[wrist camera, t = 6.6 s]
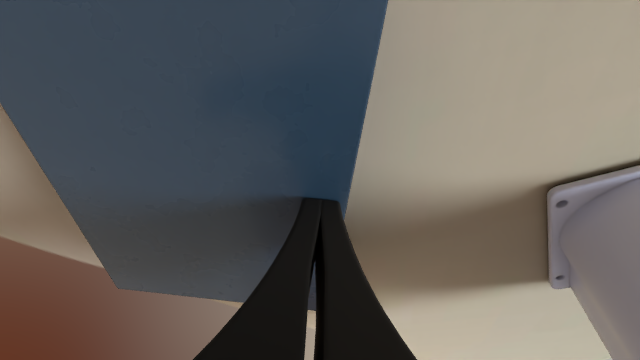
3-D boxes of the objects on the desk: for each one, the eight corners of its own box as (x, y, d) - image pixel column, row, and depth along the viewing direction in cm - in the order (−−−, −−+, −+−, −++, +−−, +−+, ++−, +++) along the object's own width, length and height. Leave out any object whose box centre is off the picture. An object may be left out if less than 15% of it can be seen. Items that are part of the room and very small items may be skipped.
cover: (387, -10, 8) (389, -4, 7) (326, 301, 18) (325, 312, 17) (-78, -62, 8) (-104, -59, 7) (123, 278, 18) (117, 288, 17)
